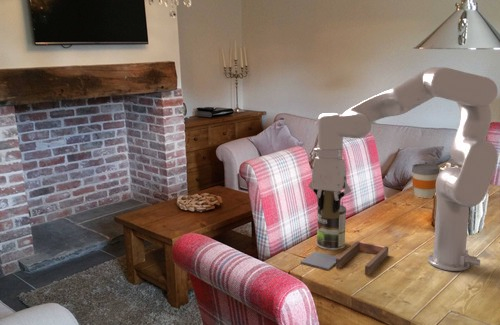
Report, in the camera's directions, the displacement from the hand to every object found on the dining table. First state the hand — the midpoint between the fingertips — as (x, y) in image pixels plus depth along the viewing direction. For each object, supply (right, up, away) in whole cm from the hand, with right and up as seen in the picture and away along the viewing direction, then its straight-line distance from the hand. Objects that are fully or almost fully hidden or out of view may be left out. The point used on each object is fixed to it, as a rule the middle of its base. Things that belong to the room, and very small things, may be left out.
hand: (328, 209), depth 144 cm
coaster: (-1, -18, +8) cm, 20 cm away
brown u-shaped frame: (+13, -18, +8) cm, 23 cm away
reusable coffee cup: (+60, -2, +79) cm, 100 cm away
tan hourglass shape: (+1, -2, +1) cm, 3 cm away
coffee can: (+5, -15, +22) cm, 27 cm away
